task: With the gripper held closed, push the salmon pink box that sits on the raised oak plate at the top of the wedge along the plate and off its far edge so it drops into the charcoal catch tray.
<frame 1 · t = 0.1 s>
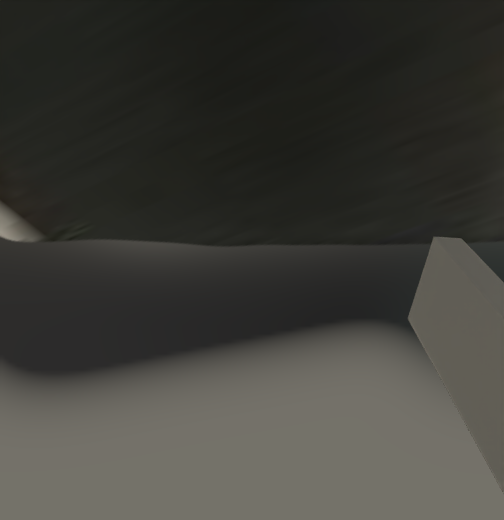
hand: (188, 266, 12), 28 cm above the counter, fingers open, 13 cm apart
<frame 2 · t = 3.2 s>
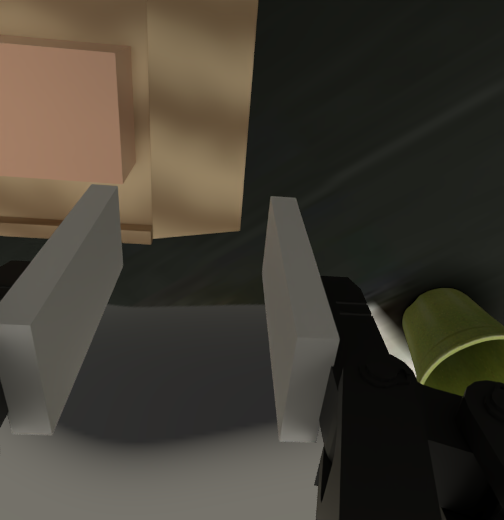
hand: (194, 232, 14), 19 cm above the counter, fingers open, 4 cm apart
salmon pink box: (67, 102, 28), point 2 cm above the counter, touching oak riser
oak riser: (61, 95, 29), on the counter
plant pot: (435, 313, 40), on the counter
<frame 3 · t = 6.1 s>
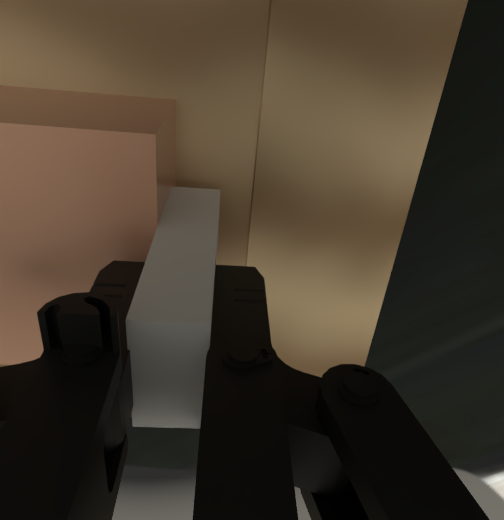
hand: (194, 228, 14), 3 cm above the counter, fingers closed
salmon pink box: (53, 200, 15), point 2 cm above the counter, touching gripper, oak riser
oak riser: (87, 179, 17), on the counter
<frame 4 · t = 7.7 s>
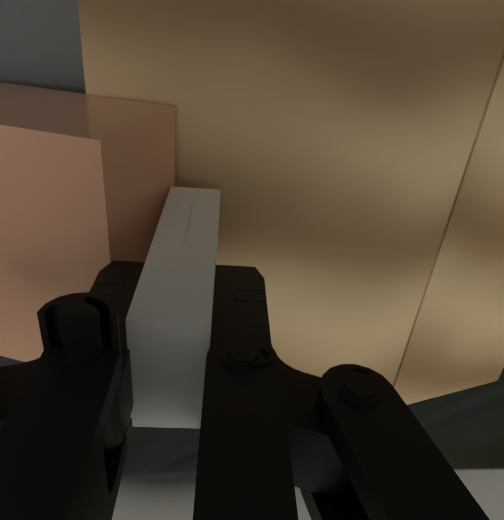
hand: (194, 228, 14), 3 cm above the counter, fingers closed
salmon pink box: (62, 198, 15), point 2 cm above the counter, tilted 16°, touching catch tray, gripper
oak riser: (271, 194, 17), on the counter
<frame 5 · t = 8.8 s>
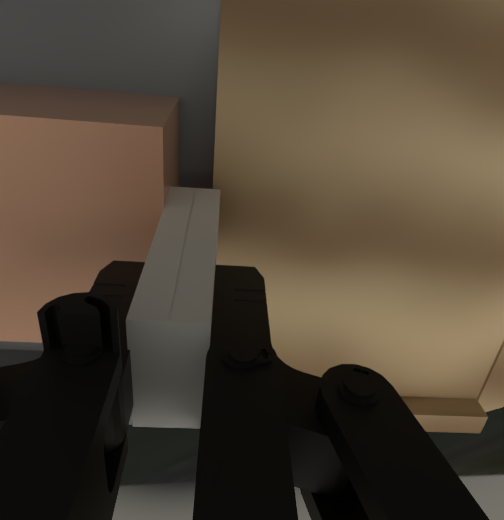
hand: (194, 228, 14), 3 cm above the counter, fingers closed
salmon pink box: (65, 191, 16), point 1 cm above the counter, touching catch tray, gripper
oak riser: (371, 204, 17), on the counter
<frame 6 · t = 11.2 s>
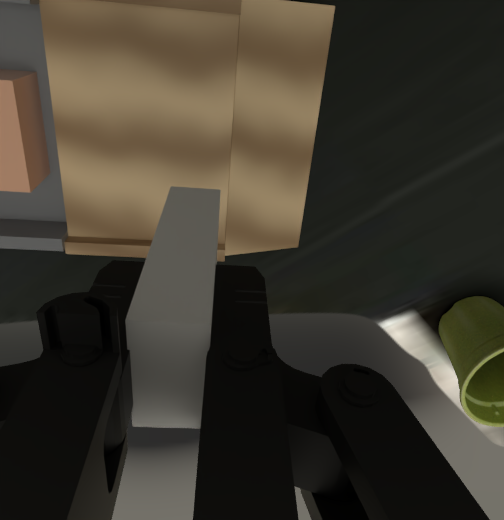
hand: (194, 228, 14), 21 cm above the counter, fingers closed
oak riser: (149, 130, 33), on the counter
plant pot: (467, 319, 44), on the counter
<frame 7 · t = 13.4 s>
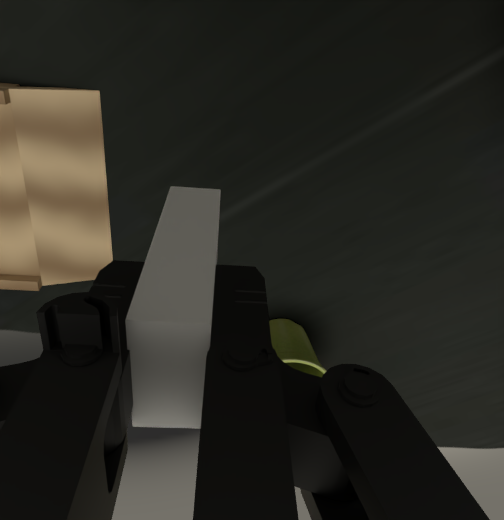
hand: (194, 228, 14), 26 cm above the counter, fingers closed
plant pot: (279, 337, 51), on the counter
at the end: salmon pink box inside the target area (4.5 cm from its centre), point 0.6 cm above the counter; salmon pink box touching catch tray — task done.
